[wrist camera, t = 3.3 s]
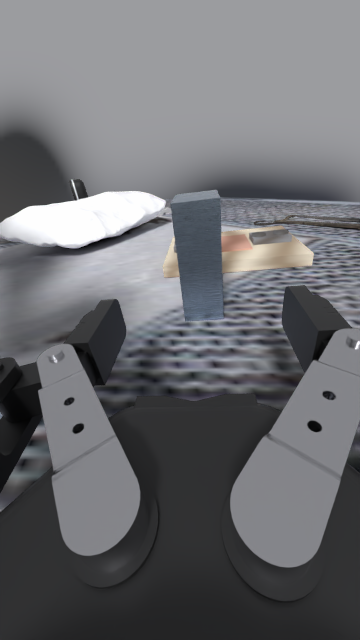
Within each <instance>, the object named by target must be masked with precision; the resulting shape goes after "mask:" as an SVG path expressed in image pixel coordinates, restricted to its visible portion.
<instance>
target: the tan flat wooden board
mask: <svg viewBox="0 0 360 640" xmlns="http://www.w3.org/2000/svg"><path fill="white" fill-rule="evenodd" d="M221 243H222V273H228V272H240V271H252V270H264V269H276V268H288V267H300V266H312V261H313V255H314V253H313V252H312V251H310V250H309V249H308V248H307V247H306V246H305V245H303V244H302V243H301V242H300V241H299V240H298V239H296V238H295V237H294V236H293V235H292V234H291V233H289V231H288V230H286V229H285V228H284V227H282V226H275V227H265V228H256V229H246V230H236V231H226V232H221ZM163 271H164V278H167V277H180V275H179V268H178V260H177V252H176V244H175V237H173V239H172V242H171V244H170V247H169V250H168V253H167V256H166V259H165V262H164V264H163Z"/></svg>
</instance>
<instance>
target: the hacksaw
mask: <svg viewBox="0 0 360 640" xmlns="http://www.w3.org/2000/svg"><path fill="white" fill-rule="evenodd" d="M294 216H297V217H304V218H315V219H327V220H343V221H360V219H357V218H335V217H317V216H298V215H290V216H287V217H286V218H285V219H283V220H278V221H270V222H273V223H262V224H261V223H260V224H256V223H257V222H261V221H256V222H254V225H270V224H278V223H283V224H305V225H315V226H327V227H341V228H342V227H345V228H354V229H360V224H345V223H326V222H307V221H286V220H288V219H289V218H291V217H292V218H294ZM274 222H275V223H274ZM357 223H358V222H357Z"/></svg>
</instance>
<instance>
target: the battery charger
mask: <svg viewBox="0 0 360 640" xmlns="http://www.w3.org/2000/svg"><path fill="white" fill-rule="evenodd" d="M69 183H70V187H71V189H72V193H73V196H74V199H75V201H77V200H79V199H83V198H88V195H87V192H86V189H85V186H84V183H83V182H82V181H81V180H80V179H76V180H70V181H69Z"/></svg>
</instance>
